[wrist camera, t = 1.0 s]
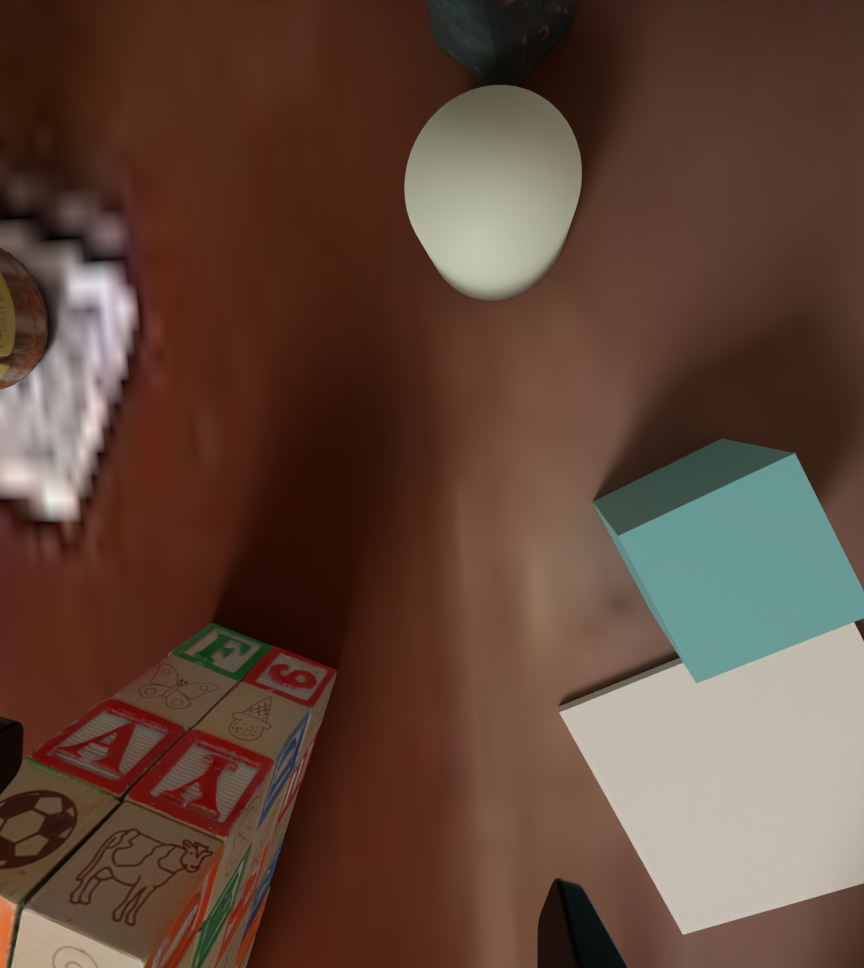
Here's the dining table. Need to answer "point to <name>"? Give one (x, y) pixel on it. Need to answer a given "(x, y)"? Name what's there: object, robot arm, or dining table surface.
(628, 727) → the white mat
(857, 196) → the dining table surface
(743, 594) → the teal block
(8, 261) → the sauce bottle
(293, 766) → the stack of blocks
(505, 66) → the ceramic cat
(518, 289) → the pale green rounded piece
